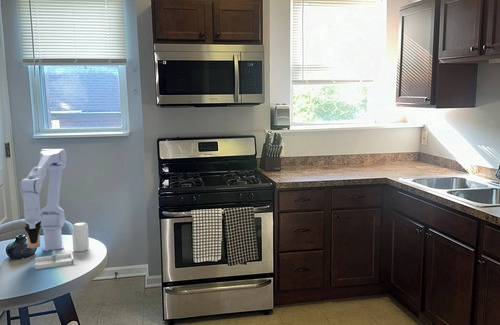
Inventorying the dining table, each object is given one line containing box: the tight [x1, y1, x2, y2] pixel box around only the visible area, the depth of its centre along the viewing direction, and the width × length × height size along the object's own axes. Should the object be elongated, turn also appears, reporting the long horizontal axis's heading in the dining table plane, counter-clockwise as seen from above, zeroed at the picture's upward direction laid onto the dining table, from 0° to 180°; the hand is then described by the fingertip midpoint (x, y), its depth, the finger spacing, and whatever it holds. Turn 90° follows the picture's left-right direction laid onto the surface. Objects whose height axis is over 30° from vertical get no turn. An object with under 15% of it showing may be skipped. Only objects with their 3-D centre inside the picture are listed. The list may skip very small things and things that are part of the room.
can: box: [71, 221, 90, 253], centre depth 191 cm, size 6×6×12 cm
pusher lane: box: [34, 251, 74, 270], centre depth 176 cm, size 9×14×2 cm, turn 115°
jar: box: [26, 232, 41, 249], centre depth 175 cm, size 4×4×6 cm
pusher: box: [51, 249, 56, 262], centre depth 176 cm, size 6×1×4 cm, turn 25°
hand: (34, 241), depth 175 cm, fingers closed on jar, 4 cm apart
